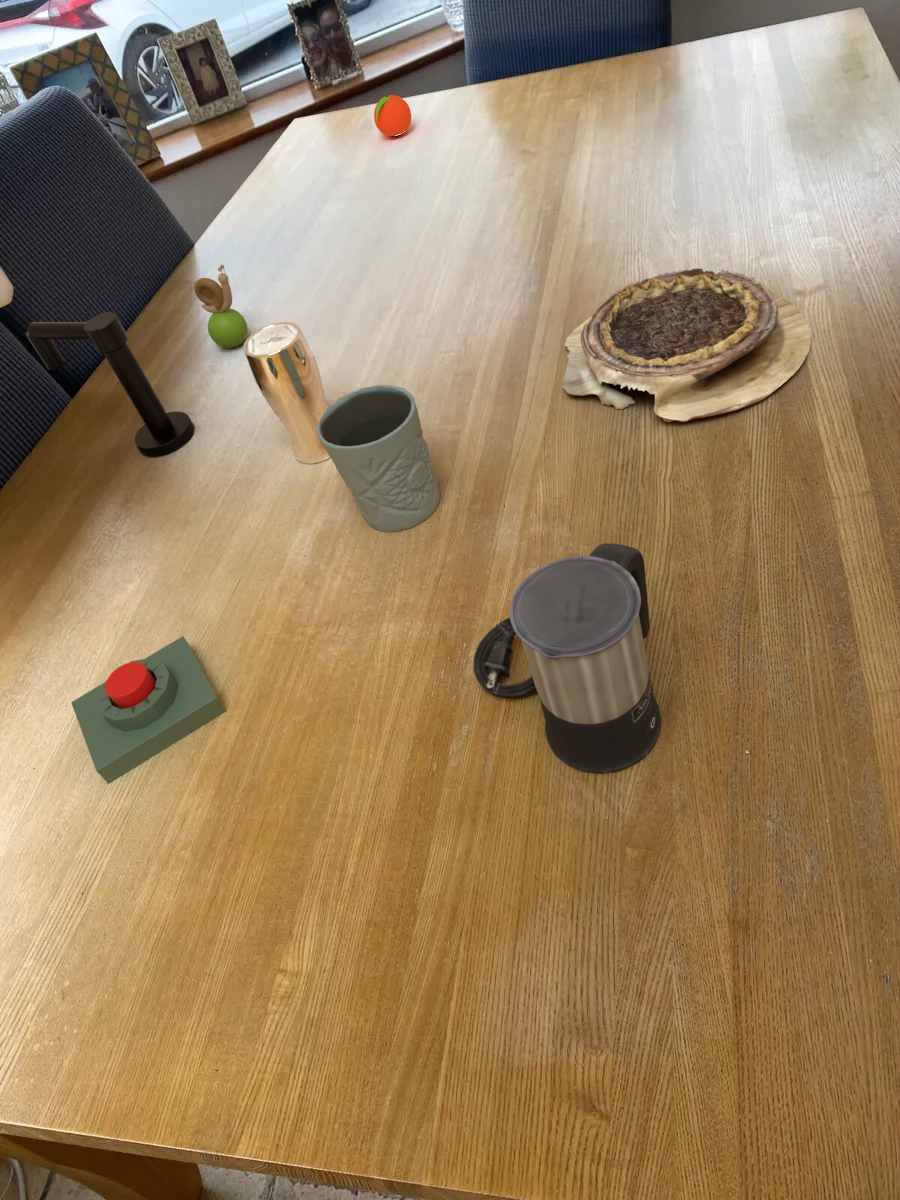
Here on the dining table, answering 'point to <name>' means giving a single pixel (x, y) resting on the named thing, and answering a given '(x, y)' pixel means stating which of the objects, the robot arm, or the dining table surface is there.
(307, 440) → the beer glass
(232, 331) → the snail figurine
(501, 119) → the dining table surface
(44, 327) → the spout
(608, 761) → the milk frother
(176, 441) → the base
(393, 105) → the clementine
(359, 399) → the embossed green cup
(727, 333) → the pie
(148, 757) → the control block
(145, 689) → the button
